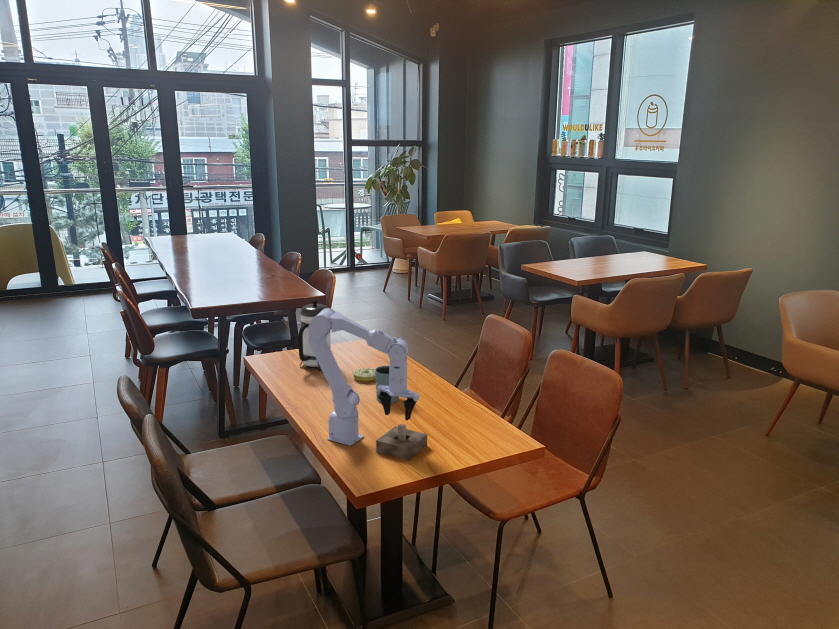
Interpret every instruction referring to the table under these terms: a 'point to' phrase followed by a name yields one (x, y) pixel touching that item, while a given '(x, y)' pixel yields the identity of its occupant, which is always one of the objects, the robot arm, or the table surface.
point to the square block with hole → (401, 444)
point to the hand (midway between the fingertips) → (397, 416)
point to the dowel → (402, 432)
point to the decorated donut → (365, 375)
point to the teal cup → (383, 380)
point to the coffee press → (303, 337)
